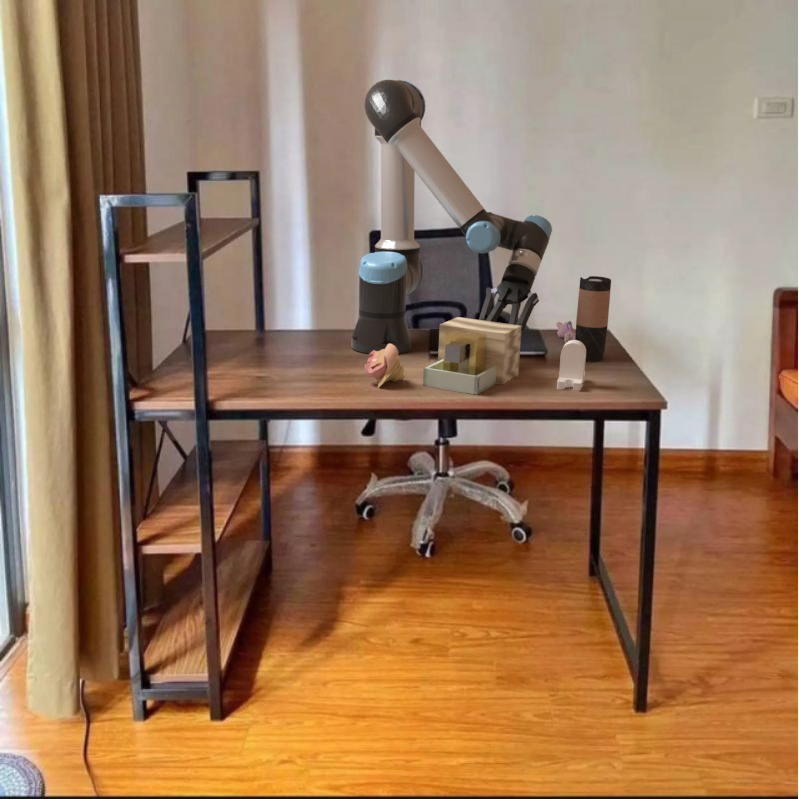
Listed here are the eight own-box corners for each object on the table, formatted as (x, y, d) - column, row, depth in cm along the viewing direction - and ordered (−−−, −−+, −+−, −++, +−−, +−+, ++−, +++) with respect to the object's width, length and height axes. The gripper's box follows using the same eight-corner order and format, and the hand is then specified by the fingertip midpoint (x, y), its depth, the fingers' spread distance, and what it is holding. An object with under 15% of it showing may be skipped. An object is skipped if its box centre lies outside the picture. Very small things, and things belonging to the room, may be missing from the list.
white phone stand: (584, 380, 233) (588, 338, 230) (580, 391, 224) (584, 347, 221) (561, 378, 235) (565, 335, 232) (556, 389, 225) (559, 345, 223)
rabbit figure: (583, 351, 267) (572, 329, 280) (586, 330, 264) (574, 309, 277) (560, 350, 266) (549, 329, 280) (562, 329, 264) (552, 308, 277)
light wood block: (455, 365, 243) (457, 317, 240) (518, 375, 236) (521, 325, 233) (437, 374, 234) (439, 324, 231) (502, 384, 227) (505, 333, 224)
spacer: (452, 370, 231) (454, 330, 228) (483, 375, 228) (485, 334, 225) (442, 375, 227) (444, 334, 224) (474, 380, 224) (476, 338, 221)
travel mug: (604, 363, 249) (611, 282, 243) (572, 360, 250) (579, 280, 245) (604, 355, 256) (611, 277, 250) (573, 353, 258) (580, 275, 252)
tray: (423, 385, 225) (423, 368, 224) (443, 375, 234) (444, 358, 233) (477, 394, 219) (478, 377, 218) (495, 383, 228) (496, 366, 227)
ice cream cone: (397, 377, 233) (419, 355, 226) (387, 408, 226) (410, 385, 219) (363, 356, 231) (385, 333, 224) (352, 387, 224) (375, 363, 217)
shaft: (494, 336, 245) (495, 322, 244) (507, 338, 244) (508, 324, 243) (444, 360, 221) (445, 345, 220) (459, 363, 220) (460, 347, 219)
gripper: (486, 259, 250) (454, 337, 241) (550, 265, 243) (520, 347, 233) (493, 277, 256) (463, 354, 247) (556, 284, 249) (527, 364, 239)
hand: (491, 350), depth 240 cm, fingers closed on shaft, 3 cm apart
